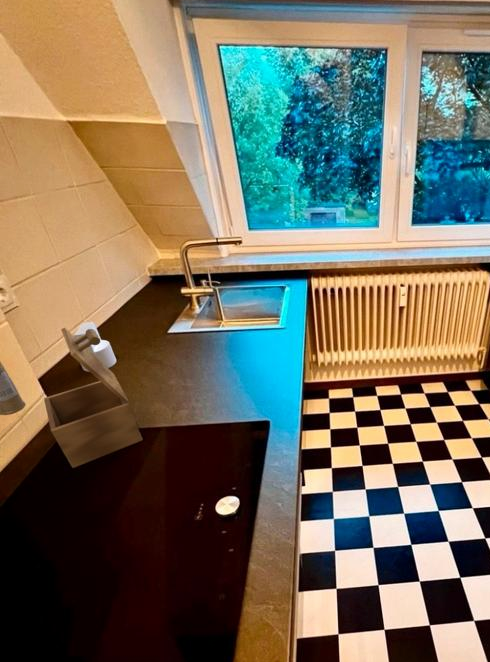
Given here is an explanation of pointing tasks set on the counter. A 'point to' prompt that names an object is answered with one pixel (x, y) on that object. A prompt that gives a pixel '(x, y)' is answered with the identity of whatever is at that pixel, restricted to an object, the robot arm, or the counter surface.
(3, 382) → the sprinkles bottle
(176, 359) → the counter surface
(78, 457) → the chest
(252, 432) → the counter surface
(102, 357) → the cylinder with rectangular tab
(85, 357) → the lid
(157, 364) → the counter surface
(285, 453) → the counter surface
